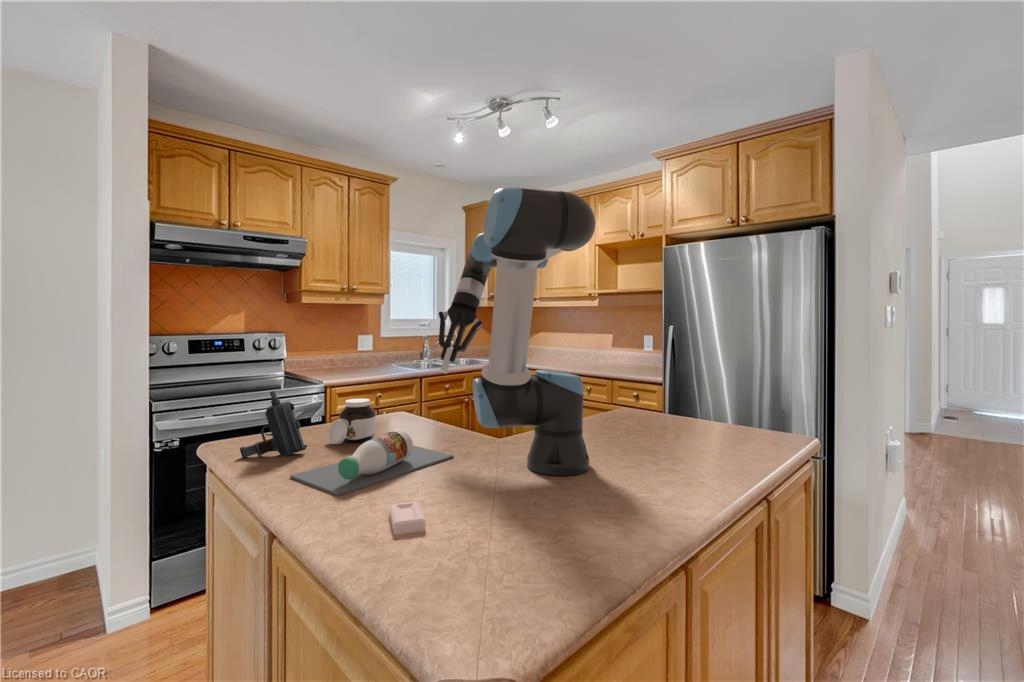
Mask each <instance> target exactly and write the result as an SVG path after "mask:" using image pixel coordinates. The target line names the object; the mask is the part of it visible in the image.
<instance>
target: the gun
mask: <svg viewBox="0 0 1024 682" xmlns="http://www.w3.org/2000/svg"><path fill="white" fill-rule="evenodd" d="M269 394H270V398H271V399H272V400H270V403H271V405H270V406H268V407H266V411H265V413H264V414H265V418H266V419H267V422H268V424H266V425H264V426H263V427H262V428H261V430H260V435H261V437H262V441H257V442H256V443H255V444H251V445H249V446H241V447H239V451H240V454H241V457H242V459H246V458H248V457H251V456H253V455H254V456H255V455H257V456H258V457H261V456H263V455H264V454H266V453H269V452H278V454H279V455H280V456H281V457H283V458H284V457H286V456H289V455H292V454H296V453H300V452H302V451H306V449H307V448H308V445H307V444H305V443H304V441H303V438H302V437H303V436H302V435H301V431H300V429H301V428H302V427H301V423H300V420H297V419H296V416H295V413H294V410H295V409H296V408H295V405H294V403H292V402H291V401H290V400H287V401H283V402H281V401H280V398H278V397H277V396H278V395H277V394H276V391H275V390H273V391H270V392H269ZM266 428H269V430H270V433H264V430H265V429H266ZM265 435H266V436H268V437H271V438H269V439H266V436H265Z"/></svg>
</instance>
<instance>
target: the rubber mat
mask: <svg viewBox="0 0 1024 682" xmlns="http://www.w3.org/2000/svg"><path fill="white" fill-rule="evenodd" d="M453 458H455V456H454V455H453V454H449V453H446V452H442V451H436V450H433V449H429V448H425V447H421V446H417V445H413V450H412V452H411V454H410V456H409V457H408V458H406V459H404V460H403V461H401V462H399V463H397V464H395V465H393V466H391V467H389V468H387V469H385V470H383V471H381V472H379V473H376V474H371V475H366V474H359V475H358V476H356V477H354V478H352V479H344V478H343V477H342V476H341V475H340V473H339V471H338V464H339V462H340V461H338V462H334V463H331V464H328V465H323V466H318V467H316V468H312V469H308V470H305V471H301V472H297V473H294V474H291V475H289V476H290V477H289V478H290V479H292V480H295V481H297V482H300V483H303V484H305V485H307V486H310V487H313V488H315V489H318V490H320V491H323V492H326V493H329V494H330V495H333V496H336V497H339V496H343V495H345V494H349V493H352V492H354V491H357V490H360V489H363V488H367V487H369V486H372V485H374V484H375V485H376V484H378V483H382V482H384V481H387V480H388V481H389V480H391V479H393V478H396V477H399V476H402V475H403V476H404V475H406V474H408V473H412V472H414V471H417V470H420V469H421V470H422V469H423V468H426V467H429V466H432V465H436V464H438V463H442V462H445V461H447V460H448V461H449V460H451V459H453Z"/></svg>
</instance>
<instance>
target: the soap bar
mask: <svg viewBox="0 0 1024 682" xmlns="http://www.w3.org/2000/svg"><path fill="white" fill-rule="evenodd" d="M388 507H389V510H388V511H389V518H390V519H389V520H390V523H391V528H392V532H393V535H395V536H398V535H405V534H406V535H407V534H413V533H414V534H415V533H421V532H424V531H426V528H427V527H426V522H427V521H426V518H425V516H424V513H423V509H422V507H421V505H420V503H419V501H408V502H402V503H401V502H400V503H392V504H390V505H389V506H388Z"/></svg>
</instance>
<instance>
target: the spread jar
mask: <svg viewBox="0 0 1024 682" xmlns="http://www.w3.org/2000/svg"><path fill="white" fill-rule="evenodd" d="M370 401H371V400H370V399H369V398H351V399H346V400H345V404H344V405H345V407H344V408H343V410H341V412H340V414H339V416H338V419H334V421H332V422H331V423H330V425H329V426H328V429H327V439H328V442H329V443H330V444H331V445H340V444H342V443H344V442H347V443H349V444H350V443H351V444H359V443H361V444H363V443H365V442H367V441H369V440H371V439H373V437H375V435H376V433H377V426H378V425H377V414H376V413H377V412H376V411H375V409H374V408H372V407H371V406H370V405H371V402H370Z"/></svg>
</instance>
